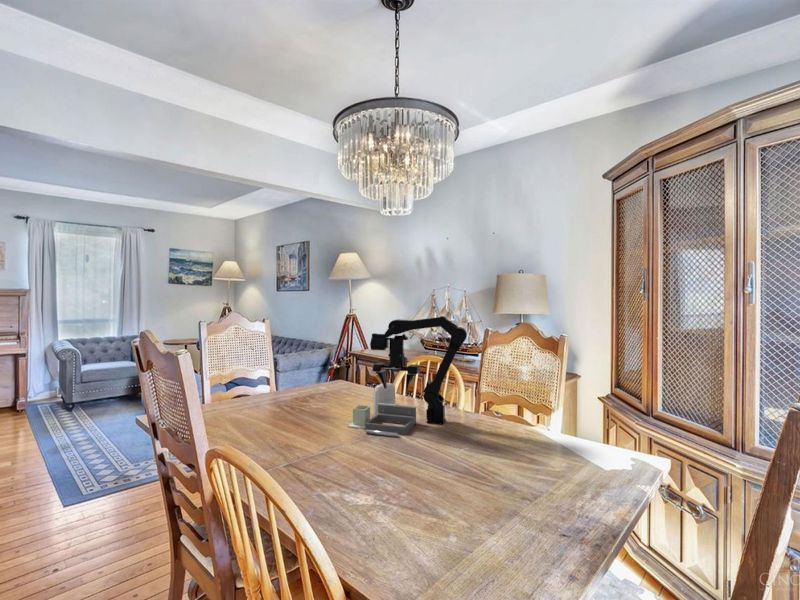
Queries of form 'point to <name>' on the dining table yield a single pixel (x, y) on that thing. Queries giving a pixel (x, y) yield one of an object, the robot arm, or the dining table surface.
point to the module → (361, 415)
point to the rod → (382, 433)
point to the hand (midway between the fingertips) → (396, 389)
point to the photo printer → (383, 395)
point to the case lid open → (397, 409)
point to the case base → (389, 428)
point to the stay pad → (356, 426)
